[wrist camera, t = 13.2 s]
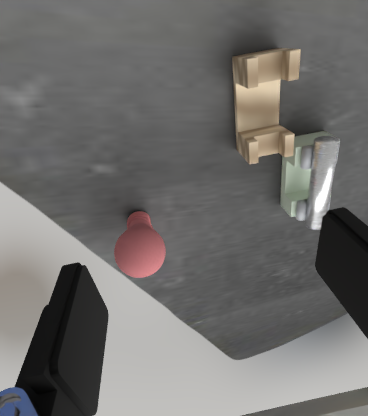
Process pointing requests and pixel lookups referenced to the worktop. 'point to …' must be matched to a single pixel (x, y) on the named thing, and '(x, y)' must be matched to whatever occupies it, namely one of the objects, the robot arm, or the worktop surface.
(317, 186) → the axle
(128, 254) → the light bulb
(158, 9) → the worktop surface
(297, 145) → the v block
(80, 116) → the worktop surface
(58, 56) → the worktop surface
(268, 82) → the wooden cradle stand
